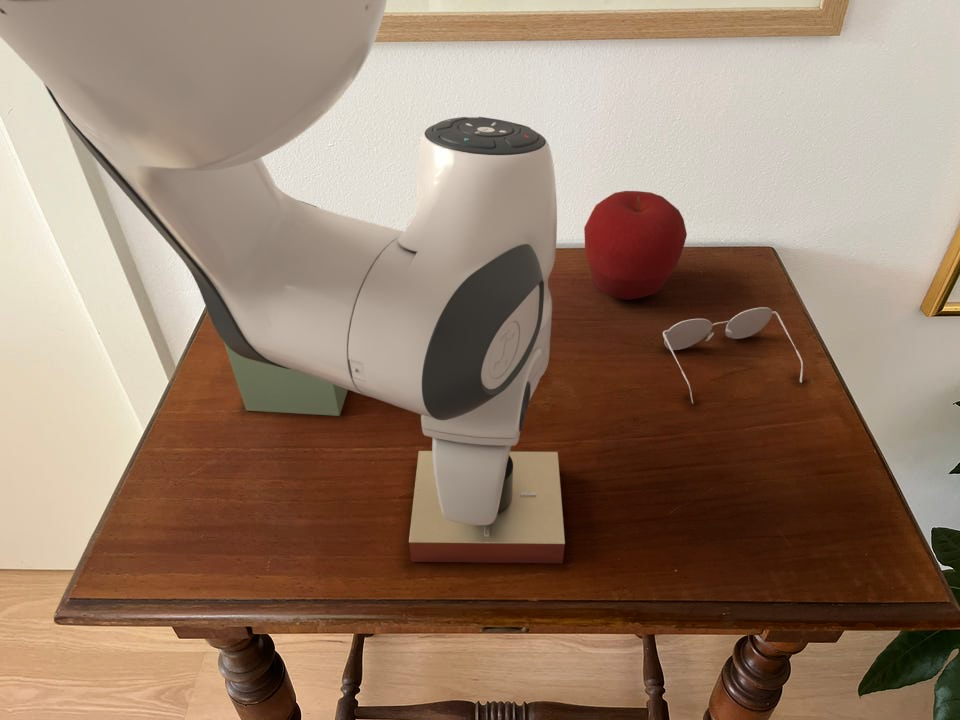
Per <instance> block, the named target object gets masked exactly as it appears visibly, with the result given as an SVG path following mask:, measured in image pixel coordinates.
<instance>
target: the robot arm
mask: <svg viewBox="0 0 960 720" xmlns="http://www.w3.org/2000/svg"><path fill="white" fill-rule="evenodd" d="M386 6H387V0H0V38H1V39H2V40H3V41H4V43H6V45H7V46H9V48H11V49H12V51H13V52H14V53H15V54H16V55H17V56H18V57H19V58H20V59H21V60H22V61H23V62H24V63H25V64H26V66H27V67H28V68H30V70H31V71H32V72H33V73H34V74H35V75H36V77H38V78H39V80H40V81H41V82H42V83H43V85H44V87H45V89H46V90H47V93H48V94H49V96H50V98H51V100H52V101H53V103H54V105H55V106H56V108H57V109H58V111H59V113H60V114H61V116H62V118H63V119H64V121H66V123H67V124H68V125H69V128H71V130H72V131H73V132H74V134H75V135H76V136H77V138H78V139H79V140H80V141H81V143H82V144H83V145H84V147H85V148H86V149H87V150H88V151H89V153H90V154H91V155H92V156H93V157H94V159H95V160H96V161H97V162H98V164H99V165H100V166H101V168H102V169H103V170H104V171H105V172H106V173H107V174H108V175H109V177H110V178H111V179H112V180H113V181H114V182H115V183H116V185H117V186H118V187H119V188H120V190H121V191H122V192H123V193H124V194H125V195H126V196H127V197H128V199H129V200H130V201H131V202H132V203H133V205H135V207H136V208H137V209H138V210H139V211H140V212H141V214H142V215H143V217H145V218H146V219H147V220H148V222H149V223H150V224H151V226H152V227H154V229H155V230H156V231H157V233H159V234H160V235H161V237H162V238H163V239H164V240H165V242H167V243H168V245H169V246H170V247H171V248H172V249H173V251H174V252H175V253H176V254H177V255H178V257H179V258H180V259H181V260H182V261H183V263H184V264H185V266H186V267H187V269H188V270H189V272H190V274H191V276H192V277H193V279H194V281H195V284H196V286H197V288H198V290H199V292H200V295H201V298H202V300H203V302H204V305H205V308H206V311H207V313H208V315H209V317H210V320H211V322H212V325H213V327H214V329H215V330H216V332H217V335H218V336H219V337H220V339H221V340H222V342H223V344H224V343H225V344H226V345H227V346H228V347H229V348H230V349H231V350H232V351H234V352H235V353H237V354H238V355H240V356H242V357H244V358H247V359H251V360H255V361H259V362H262V363H266V364H270V365H274V366H277V367H281V368H286V369H292V370H295V371H298V372H300V373H303V374H306V375H309V376H312V377H314V378H317V379H320V380H323V381H326V382H328V383H331V384H334V385H337V386H340V387H342V388H345V389H348V391H351V392H353V393H357V394H360V395H362V396H365V397H369V398H372V399H375V400H378V401H381V402H384V403H387V404H390V405H392V406H395V407H398V408H401V409H404V410H407V411H409V412H413V413H415V414H418V415H420V424H421V432H422V434H423V435H424V436H425V437H429V438H432V443H431V451H432V458H433V468H434V475H435V482H436V488H437V493H438V498H439V503H440V508H441V511H442V514H443V516H444V517H445V518H446V519H448V520H450V521H452V522H456V523H462V524H468V525H489V524H492V523H493V522H494V521H495V519H496V516H497V512H498V508H499V503H500V498H501V493H502V488H503V482H504V477H505V472H506V467H507V462H508V457H509V453H510V451H511V449H512V447H514V446H516V445H518V443H519V442H520V435H521V432H522V431H523V427H524V422H525V418H526V415H527V411H528V408H529V406H530V401H531V399H532V397H533V395H534V392H535V391H536V389H537V387H538V385H539V383H540V379H541V378H542V376H543V375H544V374H545V372H546V371H547V368H548V365H549V361H550V352H551V351H550V349H551V333H552V318H553V298H552V294H551V290H550V287H549V278H550V276H551V274H552V271H553V269H554V265H555V260H556V255H557V254H556V252H557V237H558V235H557V233H558V231H557V230H558V228H557V227H558V205H557V185H556V175H555V174H556V173H555V167H554V161H553V155H552V150H551V147H550V144H549V142H548V140H547V139H546V138H545V137H544V136H543V135H542V134H540V133H539V132H537V131H536V130H534V129H532V127H530V126H528V125H524V124H520V123H517V122H512V121H507V120H503V119H497V118H491V117H484V116H478V117H477V116H476V117H472V116H470V117H468V116H461V117H452V118H448V119H444V120H441V121H439V122H437V123H435V124H433V125H430V126H429V127H427V128H426V129H425V130H424V131H423V133H422V135H421V137H420V138H421V139H420V143H419V150H418V161H417V175H416V182H417V183H416V211H415V213H414V216H413V218H412V219H411V221H410V223H409V224H408V225H407V226H406V228H405V230H402V229H401V230H400V229H397V228H392V227H388V226H386V225H381V224H377V223H373V222H371V221H370V222H369V221H366V220H362V219H358V218H355V217H351V216H347V215H344V214H339V213H336V212H333V211H329V210H327V209H324V208H320V207H318V206H316V205H313V204H310V203H307V202H305V201H303V200H299V199H296V198H294V197H292V196H290V195H289V194H288V193H285V192H284V191H283V190H281V189H280V188H279V187H278V186H277V184H276V183H275V181H274V179H273V177H272V175H271V174H270V171H269V169H268V168H267V165H266V164H265V162H264V160H263V157H265V156H267V155H270V154H271V153H273V152H275V151H277V150H279V149H280V148H283V147H284V146H286V145H288V144H290V142H293V140H295V139H297V138H298V137H299V136H301V135H302V134H303V133H305V132H307V131H308V130H309V129H310V128H311V127H312V126H313V125H315V124H316V123H317V122H319V121H320V120H321V119H322V118H323V117H324V116H325V115H326V114H327V113H328V112H329V111H330V110H331V109H332V108H333V107H334V106H335V105H336V104H337V103H338V102H339V100H340V99H341V98H342V97H343V96H344V94H345V93H346V92H347V90H348V89H349V88H350V87H351V86H352V84H353V83H354V81H355V80H356V78H357V77H358V75H359V73H360V72H361V70H362V68H363V67H364V65H365V63H366V62H367V59H368V57H369V55H370V53H371V51H372V49H373V46H374V44H375V42H376V39H377V37H378V34H379V30H380V27H381V24H382V21H383V18H384V14H385V10H386ZM225 344H224V345H225Z"/></svg>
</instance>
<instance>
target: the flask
mask: <svg viewBox="0 0 960 720" xmlns="http://www.w3.org/2000/svg"><path fill="white" fill-rule="evenodd" d="M223 344H224V347H225V350H226V353H227V356H228V359H229V361H230V365H231V368H232V372H233V374H234V377H235V380H236V383H237V386H238V390H239V392H240V395H241V399H242V401H243V405H244V408H245V411H248V412H265V413H266V412H267V413H279V414H280V413H281V414H301V415H318V416H335V417H340V416H341V413H342V410H343V407H344V403H345V400H346V397H347V394H348V391H349V390H348V389H345V388H342V387H340V386H337V385H334V384H331V383H328V382H326V381H323V380H320V379H317V378H314V377H312V376H309V375H306V374H303V373H300V372H298V371H295V370H292V369H286V368H281V367H277V366H274V365H270V364H266V363H262V362H259V361H255V360H251V359H247V358H244V357H242V356H240V355H238V354H237V353H235V352H234V351H232V350H231V349H230V348H229V347H228V346H227V345H226V344H225V343H224V342H223Z"/></svg>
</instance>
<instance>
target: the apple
mask: <svg viewBox="0 0 960 720" xmlns="http://www.w3.org/2000/svg"><path fill="white" fill-rule="evenodd" d="M584 225H585V226H584V230H583V232H584V252H585V255H586V259H587V263H588V266H589V270H590V273H591V277H592V280H593V283H594V285H595V286H596V287H597V288H598V289H599V291H601V292H602V293H605V294H606V295H608V296H611V297H613V298H615V299H618V300H624V301H628V300H636V299H640V298H644V297H647V296H651V295H654V294H656V293H657V292H658V291H661V290H662V289H663V287H664V286H665V284H667V281H668V280H669V279H670V277H671V276H672V275H673V273H674V271H675V270H676V269H677V266H678V264H679V261H680V258H681V255H682V252H683V249H684V246H685V243H686V239H687V235H688V233H687V228H686V224H685V220H684V217H683V215H682V213H681V211H680V210H679V209H678V208H677V207H676V206H675V205H674V204H672V203H671V202H670V201H669V200H668V199H666V198H665V197H664V196H662V195H660V194H658V193H654V192H651V191H650V192H649V191H641V190H623V191H617V192H614V193H612V194H610V195H608V196H607V197H605V198H604V199H602V200H601V201H599V202H598V203H596V204H595V205H594V207H593V209H592V212H591V213H590V215H589V217H588V219H587V220H586V223H585V224H584Z"/></svg>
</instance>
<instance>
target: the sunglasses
mask: <svg viewBox="0 0 960 720" xmlns="http://www.w3.org/2000/svg"><path fill="white" fill-rule="evenodd" d="M773 315H776V318H777V320H778V321H779V323H780V325H781V326H782V328H783V330H784V332H785V333H786V336H787V337H788V339H789V340H790V342H791V345H792V346H793V348H794V349H795V352H796V355H797V356H798V358H799V360H800V365H801V368H800V376H799V383H803V377H804V376H803V375H804V374H803V373H804V362H803V358H802V357H801V354H800V353H799V350H798V349H797V348H796V346H795V344H794V341H793V340H792V338H791V336H790V334H789V332H788V329H787V328H786V326H785V324H784V322H783V320H782V319H781V317H780V315H779V313H778V312H777V311H773V310H772V309H771V308H769V307H764V306H763V307H755V308H754V307H753V308H750V309H746V310H743V311H741V312H739V313H738V314H736V315H735V316H733V317H732V318H731V319H730V320H726V321H725V320H724V321H719V322H718V321H717V322H714V323H712V322H711V321H710V320H708V319H706V318H689V319H686V320H682V321H680V322H678V323H675V324H674V325H672V326H670V328H668V329H666V330H663V331H662V336H663V339H664V347H665V348H666V349H667V350H670V352H671V353H672V356H673V357H674V359H675V361H676V363H677V366H678V367H679V369H680V372H681V374H682V375H683V378H684V380H685V381H686V384H687V386H688V388H689V394H690V400H691V403H692V404H694V400H693V394H692V388H691V386H690V382H689V380H688V378H687V375H686V373H685V372H684V371H683V369H682V367H681V365H680V363H679V361H678V358H677V356H676V354H675V352H674V351H679V350H684V349H687V348H689V347H691V346H693V345H696V344H697V343H698V342H700V341H702V340H703V339H704V338H705V337H707V338H706V339H705V343H706V342H709V340H711V338H712V337H713V336H714V334H715V332H711V331H712V328H713V327H714V326H716V325H719V324H720V325H721V324H726V323H727V324H726V325H725V331H724V334H725V336H726V337H727V338H731V339H735V340H736V339H737V340H738V339H746V338H748V337H752V336H754V335H755V334H757V333H759V332H760V331H761V330H763V328H765V326H766V325H768V323H769V322H770V320H771V318H772V316H773Z"/></svg>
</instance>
